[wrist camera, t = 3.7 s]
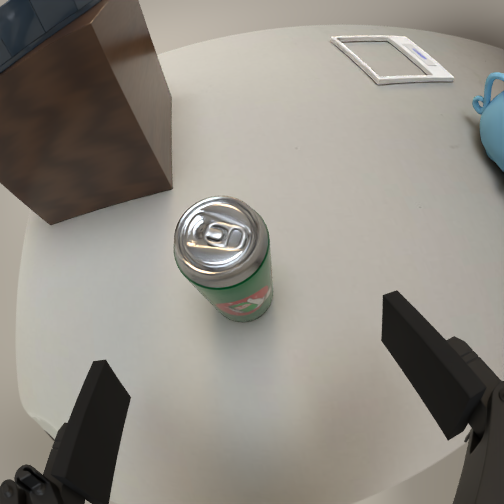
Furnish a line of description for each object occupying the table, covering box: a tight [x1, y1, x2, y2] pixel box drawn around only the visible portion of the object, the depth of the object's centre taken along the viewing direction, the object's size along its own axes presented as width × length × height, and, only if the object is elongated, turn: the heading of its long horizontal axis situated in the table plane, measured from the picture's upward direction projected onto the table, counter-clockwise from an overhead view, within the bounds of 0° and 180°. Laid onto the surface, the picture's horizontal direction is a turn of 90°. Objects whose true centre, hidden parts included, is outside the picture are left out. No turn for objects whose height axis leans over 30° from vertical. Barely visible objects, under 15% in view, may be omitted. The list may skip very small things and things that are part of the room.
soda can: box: [174, 196, 273, 322], centre depth 20 cm, size 5×5×12 cm
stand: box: [0, 0, 173, 225], centre depth 24 cm, size 17×17×20 cm
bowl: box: [0, 0, 102, 74], centre depth 13 cm, size 15×15×5 cm
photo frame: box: [331, 36, 454, 84], centre depth 38 cm, size 15×1×18 cm
